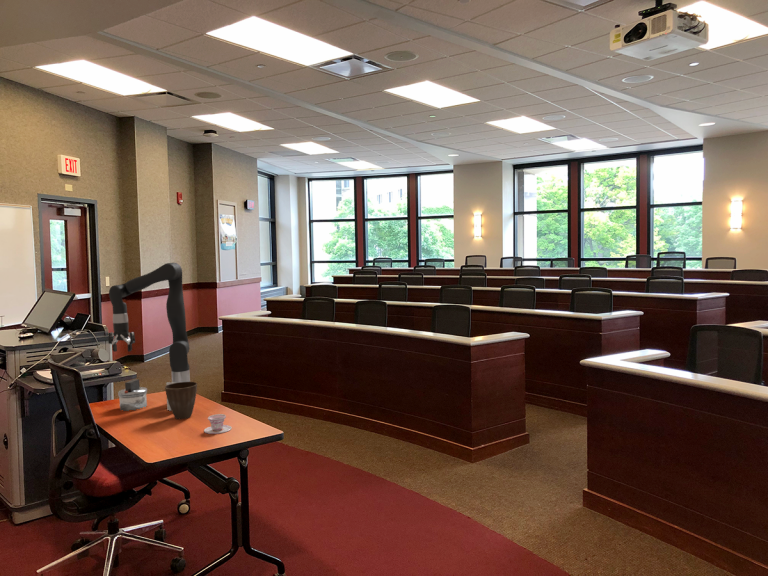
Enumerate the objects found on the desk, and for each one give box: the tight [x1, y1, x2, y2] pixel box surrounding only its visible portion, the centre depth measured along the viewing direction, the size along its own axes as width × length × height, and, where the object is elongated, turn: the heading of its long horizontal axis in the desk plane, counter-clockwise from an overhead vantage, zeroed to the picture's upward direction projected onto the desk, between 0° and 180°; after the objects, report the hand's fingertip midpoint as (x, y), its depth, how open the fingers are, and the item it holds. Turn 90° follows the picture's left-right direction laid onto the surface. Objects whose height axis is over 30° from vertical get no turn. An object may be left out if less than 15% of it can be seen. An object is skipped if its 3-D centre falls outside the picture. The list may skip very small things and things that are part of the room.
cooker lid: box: [117, 378, 148, 396], centre depth 301 cm, size 14×14×6 cm
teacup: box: [203, 413, 232, 435], centre depth 259 cm, size 12×12×6 cm
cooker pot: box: [118, 391, 148, 412], centre depth 302 cm, size 14×14×8 cm
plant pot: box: [164, 381, 198, 420], centre depth 280 cm, size 15×15×16 cm
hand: (122, 351), depth 312 cm, fingers open, 8 cm apart
